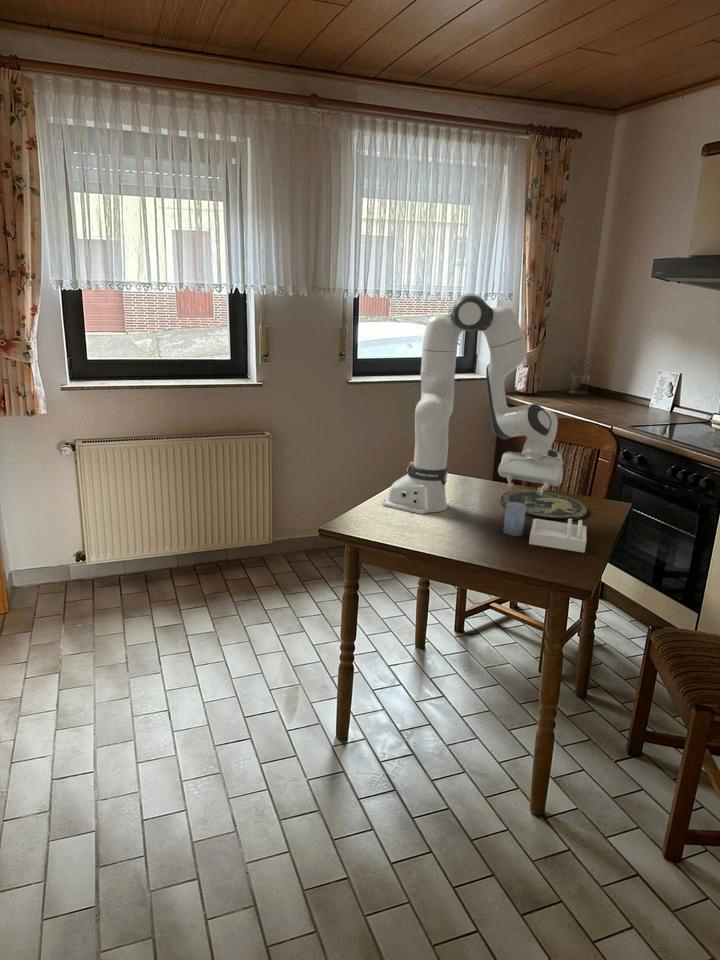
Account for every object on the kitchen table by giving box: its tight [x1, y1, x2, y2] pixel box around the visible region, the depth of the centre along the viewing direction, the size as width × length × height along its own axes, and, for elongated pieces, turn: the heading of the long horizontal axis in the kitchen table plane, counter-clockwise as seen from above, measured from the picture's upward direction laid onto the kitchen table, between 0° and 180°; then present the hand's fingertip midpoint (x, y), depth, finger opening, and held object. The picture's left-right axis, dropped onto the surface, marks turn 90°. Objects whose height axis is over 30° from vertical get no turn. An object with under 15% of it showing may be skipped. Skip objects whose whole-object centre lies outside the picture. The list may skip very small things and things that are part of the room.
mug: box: [502, 502, 526, 537], centre depth 208 cm, size 6×8×9 cm
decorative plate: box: [499, 489, 589, 522], centre depth 236 cm, size 30×2×30 cm
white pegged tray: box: [528, 518, 587, 553], centre depth 204 cm, size 16×14×6 cm
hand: (524, 491), depth 213 cm, fingers open, 8 cm apart
